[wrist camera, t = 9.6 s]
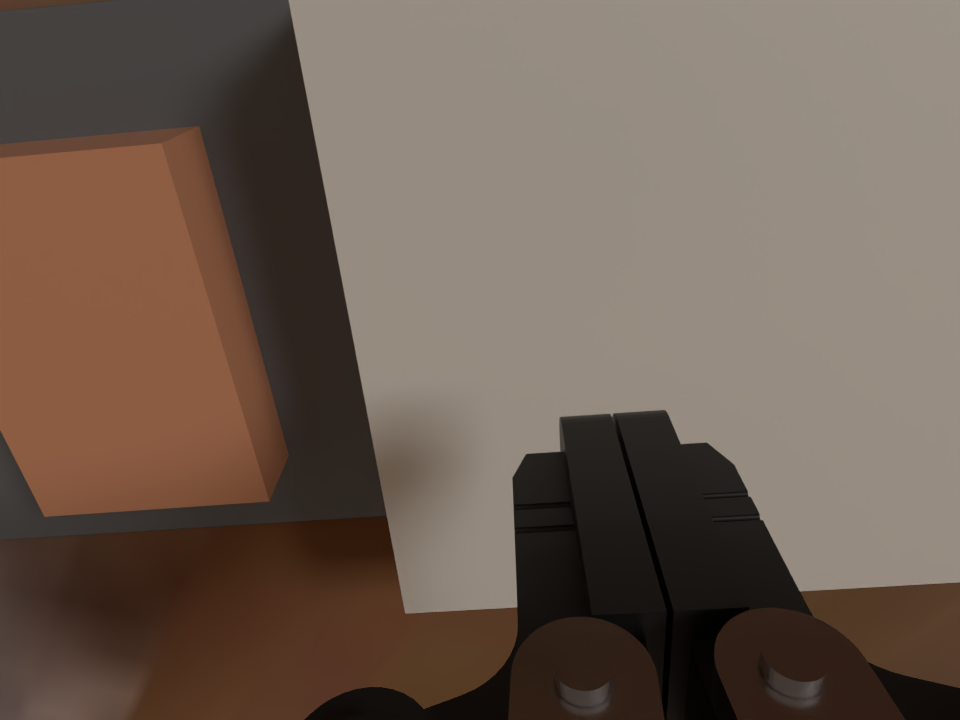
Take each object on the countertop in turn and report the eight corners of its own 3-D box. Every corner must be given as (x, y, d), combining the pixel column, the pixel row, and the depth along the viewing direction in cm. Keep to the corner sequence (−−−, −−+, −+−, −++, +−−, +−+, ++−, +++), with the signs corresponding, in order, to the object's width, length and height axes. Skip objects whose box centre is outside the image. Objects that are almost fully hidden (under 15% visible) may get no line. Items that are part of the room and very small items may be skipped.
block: (-133, 170, 13) (-62, 150, 15) (44, 516, 18) (84, 469, 19) (161, 143, 13) (199, 126, 15) (269, 501, 17) (288, 455, 19)
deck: (1034, -86, 13) (1234, -115, 10) (888, 477, 20) (975, 581, 16) (333, -20, 14) (283, -26, 10) (418, 507, 20) (405, 613, 17)
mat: (309, -18, 14) (306, -18, 14) (402, 508, 20) (401, 515, 20) (-337, 43, 14) (-352, 44, 14) (-43, 536, 21) (-50, 543, 21)
